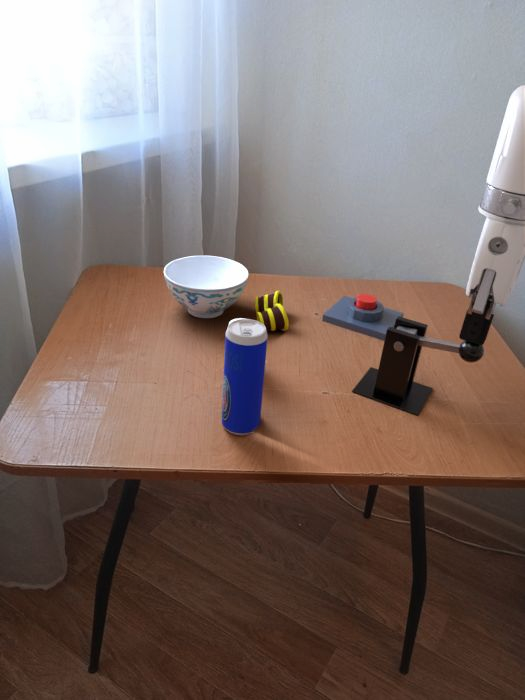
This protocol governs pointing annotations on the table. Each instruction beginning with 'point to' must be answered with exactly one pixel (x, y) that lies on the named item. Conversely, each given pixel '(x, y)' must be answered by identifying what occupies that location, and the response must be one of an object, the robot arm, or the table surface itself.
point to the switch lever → (450, 346)
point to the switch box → (361, 317)
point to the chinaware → (205, 283)
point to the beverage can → (243, 375)
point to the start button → (366, 302)
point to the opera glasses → (271, 311)
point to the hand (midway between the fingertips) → (472, 339)
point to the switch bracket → (397, 371)
